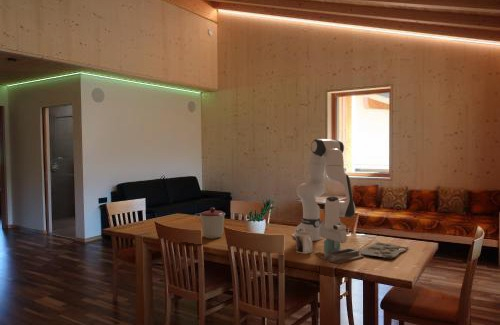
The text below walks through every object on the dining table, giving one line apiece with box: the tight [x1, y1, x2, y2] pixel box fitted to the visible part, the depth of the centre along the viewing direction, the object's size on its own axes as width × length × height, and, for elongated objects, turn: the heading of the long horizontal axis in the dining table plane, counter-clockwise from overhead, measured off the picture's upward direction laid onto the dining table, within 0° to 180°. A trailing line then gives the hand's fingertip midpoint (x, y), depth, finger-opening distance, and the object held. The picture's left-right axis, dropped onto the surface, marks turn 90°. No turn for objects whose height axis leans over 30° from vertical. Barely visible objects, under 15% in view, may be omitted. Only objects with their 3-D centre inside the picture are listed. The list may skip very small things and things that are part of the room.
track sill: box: [320, 247, 365, 265], centre depth 224 cm, size 14×20×4 cm
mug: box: [295, 232, 314, 254], centre depth 237 cm, size 10×12×11 cm
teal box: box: [323, 239, 341, 253], centre depth 235 cm, size 3×10×7 cm, turn 122°
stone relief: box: [359, 241, 410, 261], centre depth 234 cm, size 32×3×20 cm
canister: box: [199, 207, 226, 240], centre depth 277 cm, size 18×18×21 cm
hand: (332, 247), depth 235 cm, fingers closed on teal box, 3 cm apart
